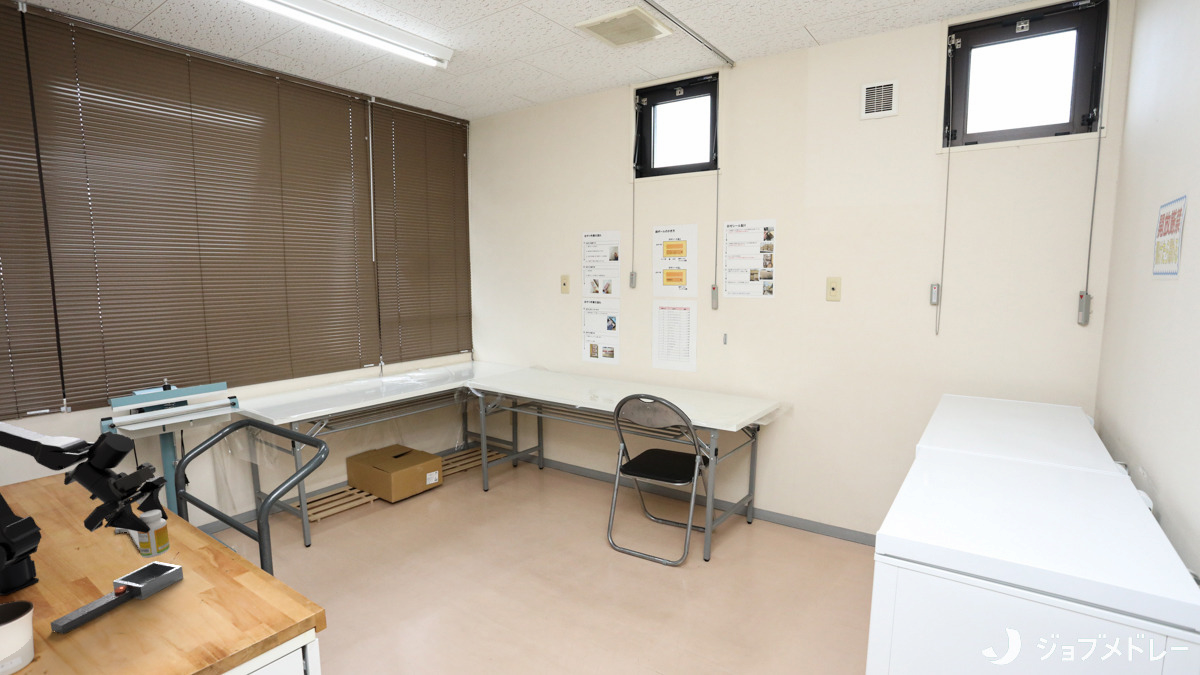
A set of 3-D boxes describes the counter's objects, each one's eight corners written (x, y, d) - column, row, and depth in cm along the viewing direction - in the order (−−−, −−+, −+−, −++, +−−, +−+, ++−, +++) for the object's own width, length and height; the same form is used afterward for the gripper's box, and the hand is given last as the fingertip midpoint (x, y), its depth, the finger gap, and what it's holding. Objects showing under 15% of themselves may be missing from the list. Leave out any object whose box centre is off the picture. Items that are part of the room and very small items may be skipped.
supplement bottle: (170, 544, 136) (165, 506, 135) (169, 553, 131) (164, 514, 130) (142, 551, 133) (136, 512, 132) (139, 561, 128) (134, 520, 127)
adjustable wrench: (154, 550, 148) (153, 544, 148) (122, 560, 143) (121, 554, 143) (142, 521, 166) (141, 515, 165) (113, 528, 161) (113, 522, 161)
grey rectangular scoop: (72, 637, 112) (70, 623, 112) (43, 629, 115) (40, 615, 115) (183, 578, 133) (181, 566, 133) (156, 572, 136) (154, 561, 135)
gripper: (90, 471, 120) (150, 519, 122) (154, 444, 138) (206, 485, 140) (57, 508, 120) (117, 555, 122) (125, 476, 139) (177, 516, 141)
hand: (157, 525), depth 131 cm, fingers closed on supplement bottle, 5 cm apart
